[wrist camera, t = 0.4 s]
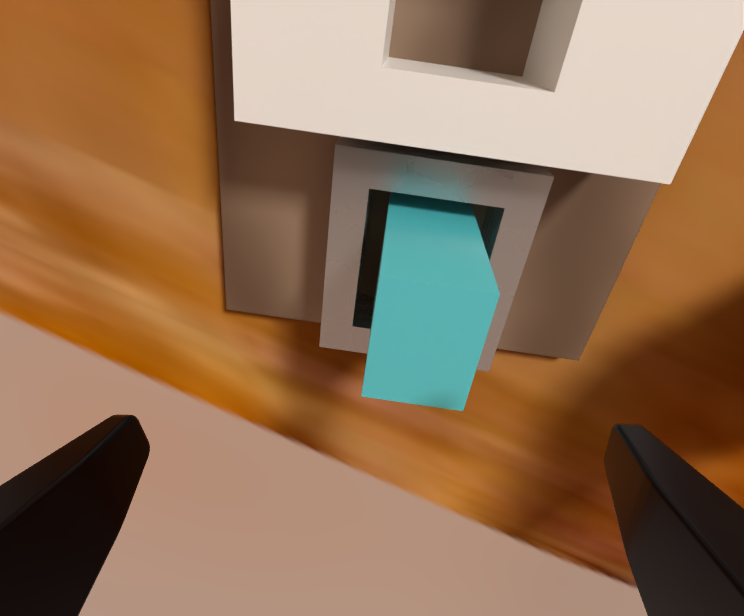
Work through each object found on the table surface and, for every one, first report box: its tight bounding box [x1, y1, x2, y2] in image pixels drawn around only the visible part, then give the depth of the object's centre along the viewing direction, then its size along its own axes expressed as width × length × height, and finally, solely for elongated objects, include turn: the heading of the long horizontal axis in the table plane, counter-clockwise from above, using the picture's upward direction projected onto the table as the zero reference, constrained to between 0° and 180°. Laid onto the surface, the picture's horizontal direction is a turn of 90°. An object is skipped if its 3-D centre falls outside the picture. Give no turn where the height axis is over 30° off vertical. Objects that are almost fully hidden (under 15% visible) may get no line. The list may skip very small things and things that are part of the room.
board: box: [210, 0, 661, 360], centre depth 16 cm, size 16×18×1 cm
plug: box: [361, 192, 500, 411], centre depth 15 cm, size 3×4×7 cm
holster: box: [319, 136, 554, 371], centre depth 17 cm, size 7×8×2 cm
